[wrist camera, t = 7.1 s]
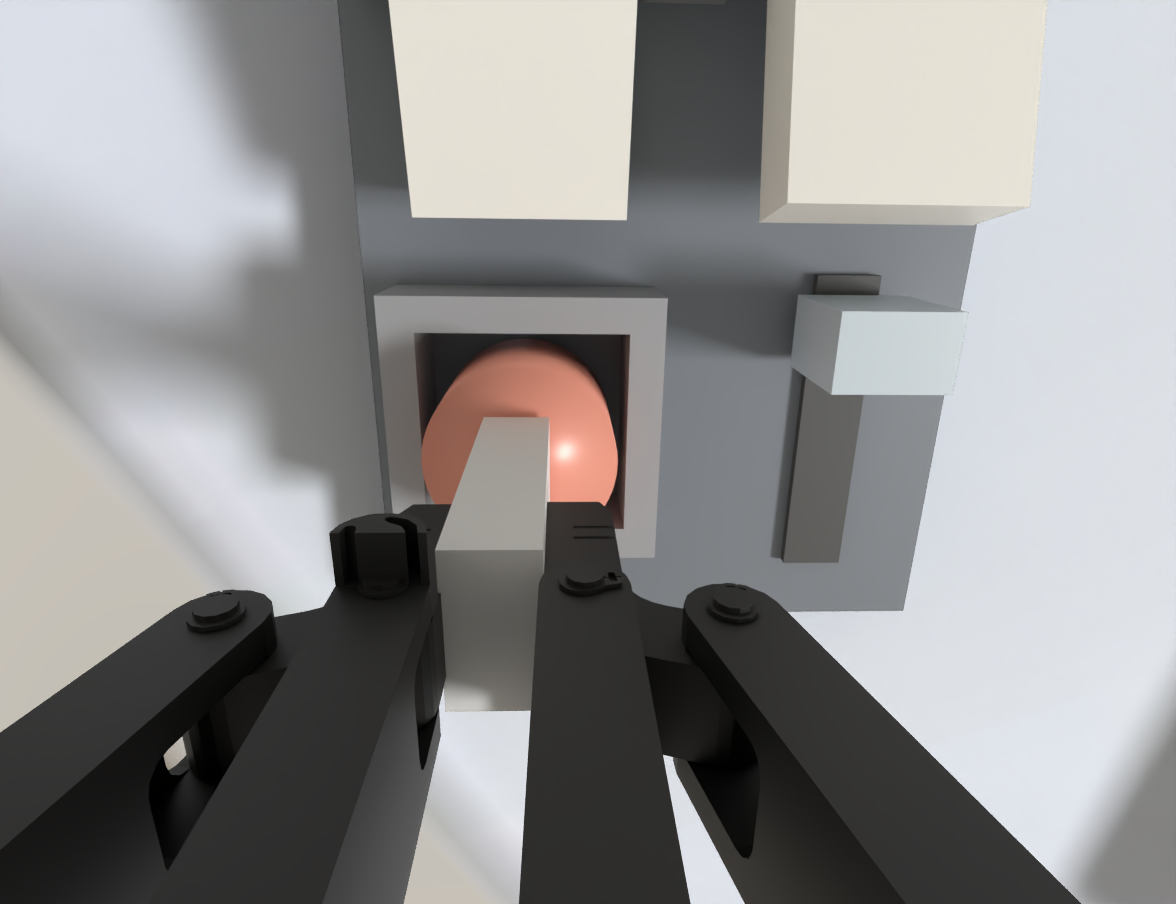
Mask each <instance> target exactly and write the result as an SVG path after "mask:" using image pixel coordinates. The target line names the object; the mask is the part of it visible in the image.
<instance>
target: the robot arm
mask: <svg viewBox="0 0 1176 904" xmlns="http://www.w3.org/2000/svg"><path fill="white" fill-rule="evenodd" d="M329 535H330V543H331V551H332V559H333V568H334V576H335V584H336V586H335V588H334V590H333V592H332V593H331V595H330V597H329V598H328V600H327V602H326V603H325V605H324V607H321V608H318V609H314V610H310V611H306V612H300V613H295V614H289V615H284V616H278V617H274V613H273V606H272V601H271V600H270V599H269V598H267V597H266V596H265V595H264V594H261V593H257V592H254V591H248V590H223V591H222V592H220V591H217V592H213V593H209V594H207V595H206V596H203V597H200V598H197V599H194V600H191V601H189V602H187V603H185V604H184V605H182V606H180V607H178V608H176V609H175V610H173V611H172V612H170V613H169V614H167V615H166V616H164V617H163V618H162V619H160V620H159V621H157V622H156V623H155V624H153V625H152V626H151V627H149V628H148V629H146V630H145V631H143V632H142V633H140V634H139V635H138V636H136V637H135V638H133V639H132V640H131V641H129V642H128V643H126V644H125V645H124V646H122V647H121V648H119V649H118V650H116V651H115V652H114V653H112V654H111V655H109V656H108V657H107V658H105V659H104V660H102V661H101V662H99V663H98V664H97V665H95V666H94V667H92V668H91V669H90V670H88V671H87V672H85V673H84V674H82V675H81V676H80V677H78V678H77V679H75V680H74V681H73V682H71V683H70V684H68V685H67V686H66V687H64V688H63V689H61V690H60V691H58V692H57V693H56V694H54V695H53V696H52V697H50V698H49V699H47V700H46V701H44V702H43V703H42V704H40V705H39V706H37V707H36V708H34V709H33V710H32V711H30V712H29V713H28V714H26V715H25V716H23V717H22V718H20V719H19V720H18V721H16V722H15V723H14V724H12V725H10V726H9V727H8V728H6V729H5V730H3V731H2V732H1V733H0V904H403V903H404V899H405V894H406V890H407V885H408V881H409V876H410V872H411V867H412V863H413V858H414V854H415V849H416V845H417V840H418V836H419V831H420V827H421V822H422V818H423V813H424V809H425V804H426V800H427V795H428V791H429V786H430V782H431V777H432V773H433V768H434V764H435V759H436V755H437V750H438V746H439V741H440V737H441V733H440V717H439V704H440V700H441V696H442V692H443V688H444V696H445V711H446V712H463V711H528V710H531V717H530V733H529V749H528V766H527V782H526V798H525V815H524V831H523V847H522V864H521V880H520V896H519V904H690V899H689V894H688V888H687V883H686V877H685V872H684V867H683V861H682V856H681V851H680V845H679V840H678V834H677V829H676V824H675V818H674V813H673V807H672V802H671V797H670V791H669V786H668V780H667V775H666V770H665V764H664V759H663V755H667V756H671V757H673V761H674V765H675V769H676V773H677V775H678V777H679V779H680V781H681V783H682V785H683V786H684V788H685V790H686V792H687V794H688V796H689V798H690V800H691V802H692V804H693V806H694V807H695V809H696V811H697V813H698V815H699V817H700V819H701V821H702V823H703V825H704V827H705V828H706V830H707V832H708V834H709V836H710V838H711V840H712V842H713V844H714V846H715V847H716V849H717V851H718V853H719V855H720V857H721V859H722V861H723V863H724V865H725V867H726V868H727V870H728V872H729V874H730V876H731V878H732V880H733V882H734V884H735V886H736V887H737V889H738V891H739V893H740V895H741V897H742V899H743V901H744V903H745V904H1081V903H1080V902H1079V901H1078V900H1077V899H1076V898H1075V897H1074V896H1073V895H1072V894H1071V893H1070V892H1069V891H1068V890H1067V889H1066V888H1065V887H1064V886H1063V885H1062V884H1061V883H1060V882H1059V881H1058V880H1057V879H1056V878H1055V877H1054V876H1053V875H1052V874H1051V873H1050V872H1049V871H1048V870H1047V869H1046V868H1045V867H1044V866H1043V865H1042V864H1041V863H1040V862H1039V861H1038V860H1037V859H1036V858H1035V857H1034V856H1033V855H1032V854H1031V853H1030V852H1029V851H1028V850H1027V849H1026V848H1025V847H1024V846H1023V845H1022V844H1021V843H1020V842H1019V841H1018V840H1016V839H1015V838H1014V837H1013V836H1012V835H1011V834H1010V833H1009V832H1008V831H1007V830H1006V829H1005V828H1004V827H1003V826H1002V825H1001V824H1000V823H999V822H998V821H997V820H996V819H995V818H994V817H993V816H992V815H991V814H990V813H989V812H988V811H987V810H986V809H985V808H984V807H983V806H982V805H981V804H980V803H979V802H978V801H977V800H976V799H975V798H974V797H973V796H972V795H971V794H970V793H969V792H968V791H967V790H966V789H965V788H964V787H963V786H962V785H961V784H960V783H959V782H958V781H957V780H956V779H955V778H954V777H953V776H952V775H951V774H950V773H949V772H948V771H947V770H946V769H945V768H944V767H943V766H942V765H941V764H940V763H939V762H938V761H937V760H936V759H935V758H934V757H933V756H932V755H931V754H930V753H929V752H928V751H927V750H926V749H925V748H924V747H923V746H922V745H921V744H920V743H919V742H918V741H917V740H916V739H915V738H914V737H913V736H912V735H911V734H910V733H909V732H908V731H907V730H906V729H905V728H904V727H903V726H902V725H901V724H900V723H899V722H898V721H897V720H896V719H895V718H894V717H893V716H892V715H891V714H890V713H889V712H888V711H887V710H886V709H885V708H884V707H883V706H882V705H881V704H880V703H878V702H877V701H876V700H875V699H874V698H873V697H872V696H871V695H870V694H869V693H868V692H867V691H866V690H865V689H864V688H863V687H862V686H861V685H860V684H859V683H858V682H857V681H856V680H855V679H854V678H853V677H852V676H851V675H850V674H849V673H848V672H847V671H846V670H845V669H844V668H843V667H842V666H841V665H840V664H839V663H838V662H837V661H836V660H835V659H834V658H833V657H832V656H831V655H830V654H829V653H828V652H827V651H826V650H825V649H824V648H823V647H822V646H821V645H820V644H819V643H818V642H817V641H816V640H815V639H814V638H813V637H812V636H811V635H810V634H809V633H808V632H807V631H806V630H805V629H804V628H803V627H802V626H801V625H800V624H799V623H798V622H797V621H796V620H795V619H794V618H793V617H792V616H791V615H790V614H789V613H788V612H787V611H786V610H785V609H784V608H783V607H782V606H781V605H780V604H779V603H778V602H777V601H775V600H774V599H772V598H771V597H770V596H768V595H767V594H765V593H764V592H761V591H758V590H756V589H753V588H750V587H748V586H746V585H741V584H738V585H736V583H724V584H710V585H706V586H703V587H699V588H696V589H695V590H694V591H692V592H691V593H689V594H688V595H687V597H686V599H685V602H684V606H683V608H677V607H672V606H666V605H662V604H658V603H654V602H651V601H649V600H646V599H644V598H641V597H640V596H638V595H637V594H635V593H634V592H632V586H631V582H630V581H629V579H628V577H627V576H626V574H625V573H623V572H622V568H621V563H620V557H619V551H618V545H617V539H616V534H615V528H614V522H613V516H612V512H610V511H609V510H608V509H607V508H606V507H605V506H603V505H602V504H601V503H600V502H550V427H549V417H483V420H482V423H481V426H480V428H479V431H478V434H477V437H476V439H475V442H474V445H473V448H472V450H471V453H470V456H469V458H468V461H467V464H466V467H465V469H464V472H463V475H462V478H461V480H460V483H459V486H458V489H457V491H456V494H455V497H454V499H453V502H452V504H413V505H411V506H410V507H408V508H407V509H405V510H404V511H402V512H401V513H399V514H395V513H384V514H371V515H367V516H363V517H358V518H354V519H351V520H349V521H347V522H345V523H342V524H340V525H338V526H337V527H336V528H335V529H334V530H332V531H331V532H330V533H329ZM181 737H183V741H184V746H185V750H186V756H185V757H184V758H183V759H182V760H181V761H180V762H179V763H178V764H177V765H176V766H175V767H173V768H172V769H170V770H168V769H167V767H166V765H165V761H164V756H163V755H164V754H165V753H166V751H167V750H168V749H169V748H170V747H171V746H172V745H173V744H174V743H175V742H176V741H178V740H179V739H180V738H181Z"/></svg>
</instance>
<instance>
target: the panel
mask: <svg viewBox="0 0 1176 904" xmlns="http://www.w3.org/2000/svg"><path fill="white" fill-rule="evenodd" d="M337 1H338V12H339V23H340V33H341V44H342V55H343V66H344V77H345V88H346V98H347V109H348V120H349V131H350V142H351V152H352V163H353V174H354V185H355V196H356V207H357V217H358V228H359V239H360V250H361V261H362V271H363V282H364V293H365V304H366V315H367V326H368V336H369V347H370V358H371V369H372V380H373V390H374V401H375V412H376V423H377V434H378V445H379V455H380V466H381V477H382V488H383V499H384V509H385V513H395V514H399V513H401V512H402V511H404V510H405V509H407V508H408V507H410V506H411V505H413V504H435V503H434V502H433V500H432V498H431V496H430V494H429V492H428V489H427V487H426V483H425V480H424V476H423V470H422V445H423V439H424V435H425V432H426V428H427V426H428V424H429V421H430V419H431V417H432V415H433V414H434V412H435V410H436V409H437V407H438V405H439V404H440V402H441V401H442V399H443V397H444V396H445V394H446V392H447V391H448V389H449V387H450V386H451V384H452V383H453V381H454V379H455V378H456V376H457V375H458V373H459V371H460V370H461V369H462V368H463V366H464V365H465V364H466V363H467V362H468V361H469V360H470V359H471V358H473V357H474V356H475V355H476V354H478V353H479V352H481V351H482V350H484V349H486V348H488V347H490V346H492V345H494V344H497V343H500V342H503V341H507V340H512V339H524V338H527V339H538V340H543V341H548V342H551V343H554V344H557V345H559V346H561V347H563V348H565V349H567V350H569V351H570V352H572V353H573V354H575V355H576V356H578V357H579V358H580V359H581V360H582V361H583V362H585V363H586V365H587V366H588V367H589V368H590V369H591V370H592V372H593V373H594V375H595V376H596V378H597V379H598V381H599V383H600V385H601V387H602V389H603V392H604V395H605V398H606V402H607V407H608V411H609V415H610V420H611V424H612V428H613V433H614V437H615V442H616V447H617V457H618V466H617V476H616V480H615V484H614V488H613V490H612V493H611V495H610V498H609V500H608V501H607V503H606V505H605V507H606V508H607V509H608V510H609V511H610V512H612V516H613V522H614V528H615V534H616V539H617V545H618V551H619V557H620V563H621V568H622V572H623V573H625V574H626V576H627V577H628V579H629V581H630V582H631V586H632V592H634V593H635V594H637V595H638V596H640V597H641V598H644V599H646V600H649V601H651V602H654V603H658V604H662V605H666V606H672V607H677V608H683V606H684V602H685V599H686V597H687V595H688V594H689V593H691V592H692V591H694V590H695V589H696V588H699V587H703V586H706V585H710V584H724V583H736V585H738V584H741V585H746V586H748V587H750V588H753V589H756V590H758V591H761V592H764V593H765V594H767V595H768V596H770V597H771V598H772V599H774V600H775V601H777V602H778V603H779V604H780V605H781V606H782V607H783V608H784V609H785V610H786V611H787V612H804V611H903V609H904V604H905V598H906V593H907V588H908V583H909V577H910V572H911V567H912V562H913V556H914V551H915V546H916V541H917V535H918V530H919V525H920V520H921V514H922V509H923V504H924V499H925V493H926V488H927V483H928V478H929V472H930V467H931V462H932V457H933V451H934V446H935V441H936V436H937V430H938V425H939V420H940V415H941V409H942V404H943V399H944V395H831V394H830V393H828V392H827V391H825V390H824V389H822V388H821V387H820V386H818V385H817V384H815V383H814V382H812V381H811V380H810V379H808V378H807V377H805V376H804V375H802V374H801V373H800V372H798V371H797V370H795V369H794V368H792V367H791V366H790V363H791V355H792V346H793V337H794V328H795V319H796V310H797V301H798V295H892V296H908V297H912V298H916V299H920V300H924V301H927V302H931V303H935V304H939V305H943V306H946V307H950V308H954V309H958V310H961V305H962V299H963V294H964V289H965V284H966V278H967V273H968V268H969V263H970V257H971V252H972V247H973V242H974V236H975V231H976V226H977V224H975V225H904V224H829V223H759V215H760V188H761V160H762V133H763V105H764V78H765V51H766V23H767V0H637V19H636V39H635V60H634V80H633V101H632V121H631V142H630V163H629V183H628V204H627V220H567V219H493V218H418V217H412V212H411V203H410V194H409V185H408V175H407V166H406V157H405V148H404V139H403V129H402V120H401V111H400V102H399V93H398V84H397V74H396V65H395V56H394V47H393V38H392V28H391V19H390V10H389V1H388V0H337Z"/></svg>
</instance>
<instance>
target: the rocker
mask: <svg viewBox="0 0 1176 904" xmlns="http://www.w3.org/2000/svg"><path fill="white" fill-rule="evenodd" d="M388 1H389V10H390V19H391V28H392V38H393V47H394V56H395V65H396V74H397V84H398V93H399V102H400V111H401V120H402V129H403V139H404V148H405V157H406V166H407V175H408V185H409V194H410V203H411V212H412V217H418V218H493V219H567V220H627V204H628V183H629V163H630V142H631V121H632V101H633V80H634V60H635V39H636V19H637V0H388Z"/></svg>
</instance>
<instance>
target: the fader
mask: <svg viewBox="0 0 1176 904" xmlns="http://www.w3.org/2000/svg"><path fill="white" fill-rule="evenodd" d="M968 313H969V312H965V311H962V310H958V309H954V308H950V307H946V306H943V305H939V304H935V303H931V302H927V301H924V300H920V299H916V298H912V297H908V296H892V295H798V301H797V310H796V319H795V328H794V337H793V346H792V355H791V363H790V366H791V367H792V368H794V369H795V370H797V371H798V372H800V373H801V374H802V375H804V376H805V377H807V378H808V379H810V380H811V381H812V382H814V383H815V384H817V385H818V386H820V387H821V388H822V389H824V390H825V391H827V392H828V393H830V394H831V395H953V390H954V385H955V380H956V375H957V370H958V365H959V359H960V354H961V349H962V344H963V339H964V334H965V329H966V323H967V318H968Z"/></svg>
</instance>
